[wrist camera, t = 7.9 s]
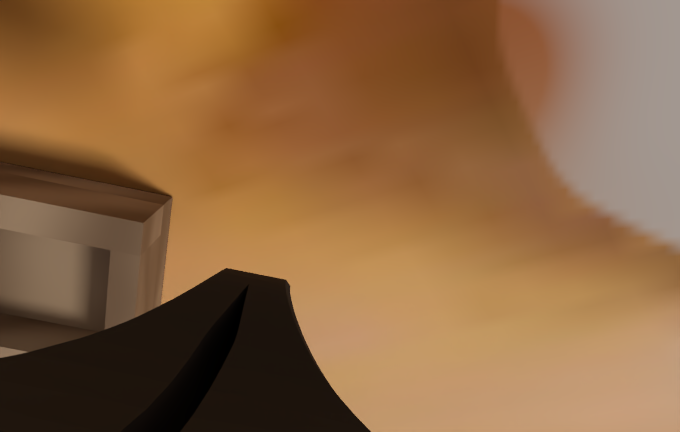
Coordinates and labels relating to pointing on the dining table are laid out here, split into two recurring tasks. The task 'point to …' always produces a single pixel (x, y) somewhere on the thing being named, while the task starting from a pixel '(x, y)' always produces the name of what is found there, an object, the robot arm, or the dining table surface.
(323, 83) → the dining table surface
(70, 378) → the robot arm
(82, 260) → the wooden tray
